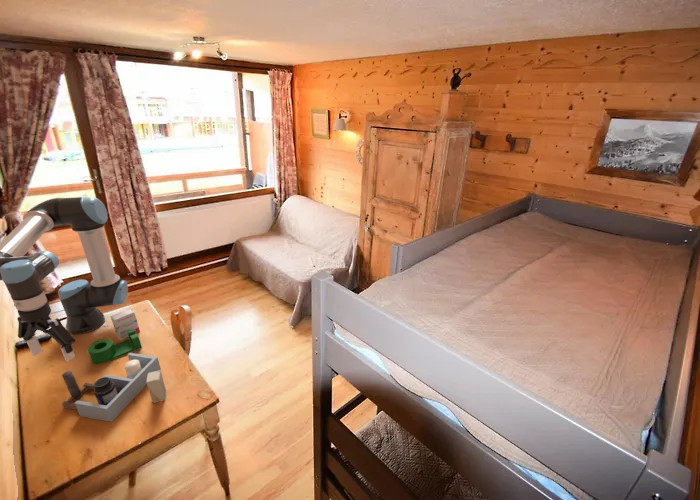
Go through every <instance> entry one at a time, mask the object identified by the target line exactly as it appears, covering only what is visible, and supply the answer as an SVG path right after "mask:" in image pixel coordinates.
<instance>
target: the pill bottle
mask: <svg viewBox="0 0 700 500" xmlns="http://www.w3.org/2000/svg"><path fill="white" fill-rule="evenodd" d="M93 384H94V386H95V390H93V391H94V392H93V393H94V395H95V398H96V400H97V404H100V405H106V406H107V405H108V404H109V403H110V402H111V401H112V400H113V399H114V398H115V397H116V396H117V394H118V393H117V390H116V387H115V384H114V383H113V382H111V381H110V378H108V377H104V376H102V377H100V378H99V379H97V380H96V381H94V383H93Z"/></svg>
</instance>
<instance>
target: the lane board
mask: <svg viewBox="0 0 700 500" xmlns="http://www.w3.org/2000/svg"><path fill="white" fill-rule="evenodd" d="M127 357H128V360H129V361H131V360H139V362H140V366H141V369H142V370H141V371H140V372H139V373H138V374H137V375H136V376H135V377H134V378H133V379H130V378H128V377H122V376H118V375H111V374H105V375H104V376H103V377H108V378H110V381H111V382H113V383H114V384H115V387H116V388H119V389H122V390H121V391H120V392H119V393H118V394H117V396H116V397H115V398H114V399H113V400H112V401H111V402H110V403H109V404H108V405H107V406H106V405H100V404H99V403H94V402H87V401H82V400H79V399H77V400H75V401H74V402H73V403H74V404H75V406H76V408H77V412H78V414H79V416H80V417H84V418H89V419H95V420H101V421H106V422H110V423H112V422H113V421H114V420H115V419H116V418H117V417H118V416H119V414H120V413H121V412H123V410H124V409H125V408H126V407H127V406H128V405H129V404H130V403H131V402H132V401H133V400H134V398H135V397H136V396H137V395H138V394H139V393H140V392H141V391H142V389H144V388H145V386H147V383H146V382H147V375H148V373H150V372H154V371H159V370H161V365H160V361H159V359H158V356H153V355H147V354H141V353H135V352H134V353H133V352H130V353H128V354H127Z"/></svg>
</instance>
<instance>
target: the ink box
mask: <svg viewBox="0 0 700 500" xmlns="http://www.w3.org/2000/svg"><path fill="white" fill-rule="evenodd" d="M110 319H111V322H112V325H113V328H114V330H115V333H116V337H117V338H118V339H119V340H120V341H123V340H125V339H126V338H129V336H128V333H127V331H128V330H131V329H134V330H135V333H136V334H137V333H139V332H141V330H140V327H139V323H138V319H137V315H136V312H135V311H134V310H133V309H131V308H129V309H126V310H124V311H122V312H121V311H120V312H118V313H115V314H113V315H111V316H110Z"/></svg>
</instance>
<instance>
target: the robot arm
mask: <svg viewBox="0 0 700 500" xmlns="http://www.w3.org/2000/svg"><path fill="white" fill-rule="evenodd" d="M106 208H107V207H106V206H105V204H104V203H103V201H101V200H100V199H99V198H97V197H88V196H79V197H78V196H77V197H75V196H74V197H55V198H50V199H48V200H47V199H46V200H44V201H41V202H40V203H37V204H36V205H34V206H33V207H32V208H30V209H29V210H28V211H27V212H25V213H24V214H23V216H22V221H21V222H20V223H19V224H18V225H17V226H16V227H15V228H14V229H13V230H11V231H10V232H9V234H7V236H6V237H5V238H3V239H2V241H0V281H3V283H4V285H5V287H6V289H7V291H8V293H9V295H10V298H11V300H12V302H13V306H14V307H15V309H16V310H17V314H18V316H19V317H17V318H16V319H17V321H18V329H17V332H18V333H17V337H18V338H19V339H23V340H24V341H25V342H26V344H27V346H28V347H29V350H30V353H31V354H32V356H33V357H36V356H38V355H39V354H41V353H42V352H43V349H42V347H41V344H40V341H39V339H38V338H37V336H36V332H37V331H41V332H42V333H43V334H45V335H46V334H48V335H49V337H51V338H52V339H54V341H56V343H58V345H60V347H59V348H60V350H61V353H62V355H63V357H64V360H65V362H67V363H69V362H70V361H71V360H72V359H74V358H75V357H76V355H75V353H74V349H73V346H72V344H73V343H75V342H76V339H75V338H74V337H73V336H72V335H71V334H73V335H81V334H86V333H89V332H92V331H94V330H96V329H97V328H100V327H101V326H102V325H103V324H104V323H105V321H106V318H105V314H103V312H102V311H101V310H100V309H99V308H101V307H106V306H107V307H108V306H116V305H122V304H123V303H125V302H126V300H127V297H128V293H129V285H128V282H127V281H126V280H123V279H122V280H121V277H120V275H119V274H116V272H115V269H114V266H113V263H112V259H111V256H110V252H109V250H108V246H107V243H106V239H105V236H104V233H103V228H104V227H105V225H106V223H107V222H108V218H109V216H108V211H107V209H106ZM59 226H71V227H70V228H71V229H72V231H73V232H74V233H77V234H78V237H79V239H80V240H79V241H80V243H81V246H82V249H83V252H84V255H85V259H86V261H87V264H88V267H89V270H90V273H91V277H92V280H91V281H90V283H89V281H88V280H86V279H77V280H73V281H71V282H67V283H66V284H64V285H62V286H61V287H60V288H59V289H58V290H57V295H58V298H59V300H60V302H61V305H62V308H63V310H64V312H65V315H66V325H65V326H64V325H63V324H62V322H61V320H60V319H59V318H58V317H56V318H54V319H52V318H51V316H50V314H51V313H52V308H51V307H50V304H49V301H48V298H47V296H46V293H45V291H44V289H43V287H42V284H41V281H43V280H44V279H46V277H47V276H49V275H50V274H52V273H53V272H54V271H55V270H56V268H57V267H58V266H59V264H60V259H59V257H58V256H57V255H56V254H55V253H53V252H51V251H48V250H41V251H38V252H36V253H33V254H32V255H26V254H27V252H29V251H30V250H31V248H32V247H33V246H34V245H35V244H36V243H37V241H38V240H39V239H40V238H41V237H42V236H43V235H44V234H45V232H49V231H50V230H52V229H53V228H54V227H59Z"/></svg>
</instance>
